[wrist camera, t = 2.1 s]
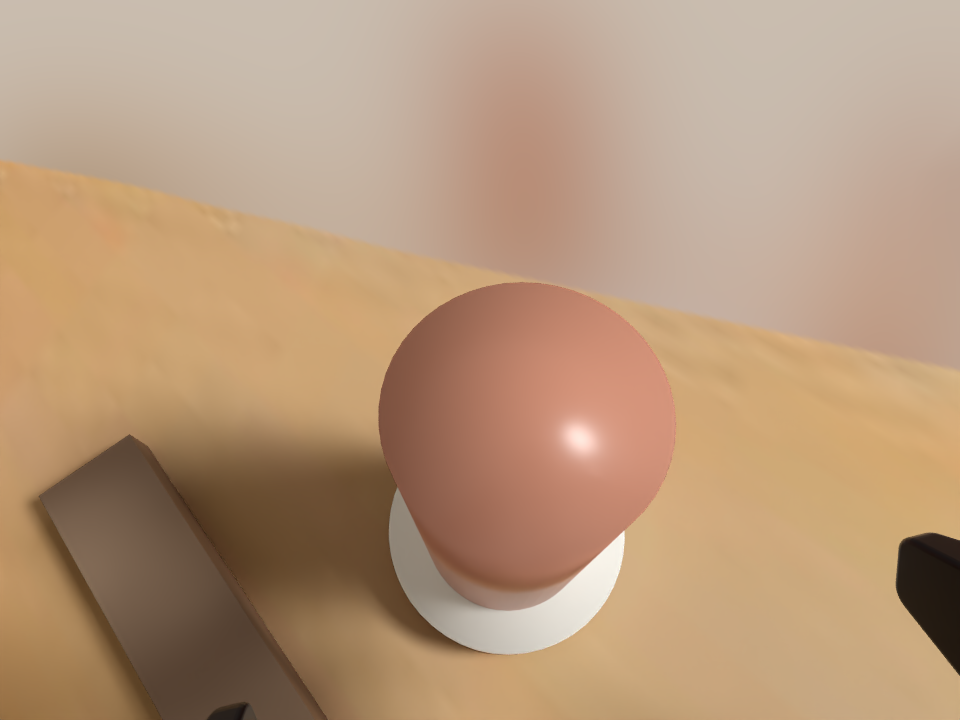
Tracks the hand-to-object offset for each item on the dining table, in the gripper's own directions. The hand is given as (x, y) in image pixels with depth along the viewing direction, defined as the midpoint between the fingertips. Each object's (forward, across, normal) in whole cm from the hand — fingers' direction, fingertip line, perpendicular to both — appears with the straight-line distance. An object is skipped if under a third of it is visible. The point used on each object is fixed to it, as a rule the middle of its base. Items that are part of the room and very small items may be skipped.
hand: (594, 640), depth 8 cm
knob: (+10, 0, +5) cm, 11 cm away
